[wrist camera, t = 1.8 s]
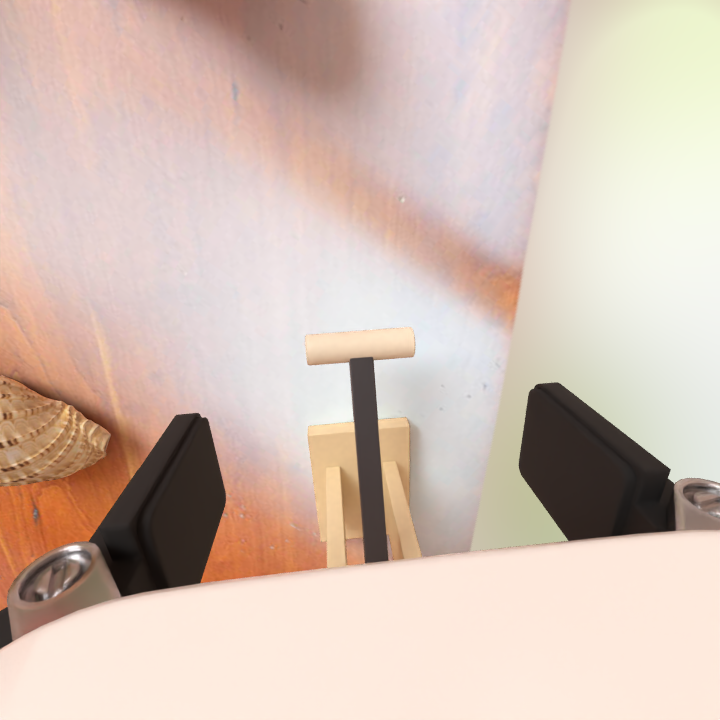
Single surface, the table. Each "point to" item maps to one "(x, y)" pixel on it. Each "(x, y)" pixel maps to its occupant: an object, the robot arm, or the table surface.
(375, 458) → the lever
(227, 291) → the table surface
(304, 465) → the table surface
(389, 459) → the bracket
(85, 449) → the seashell
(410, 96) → the table surface
